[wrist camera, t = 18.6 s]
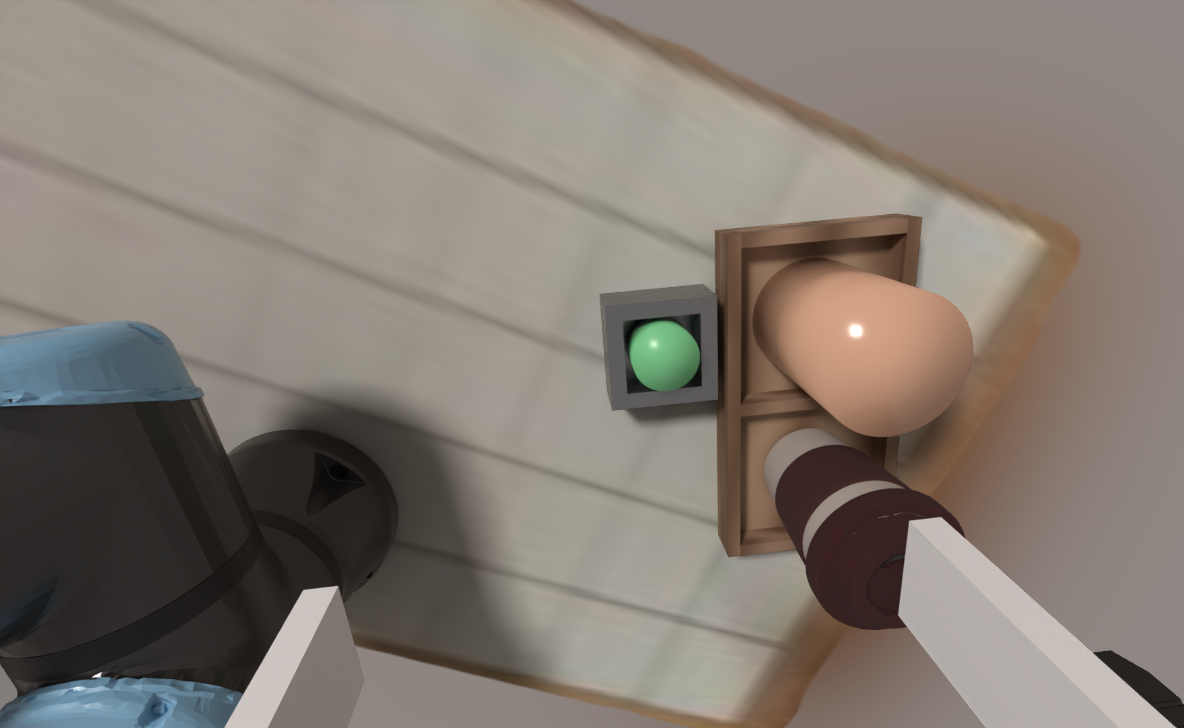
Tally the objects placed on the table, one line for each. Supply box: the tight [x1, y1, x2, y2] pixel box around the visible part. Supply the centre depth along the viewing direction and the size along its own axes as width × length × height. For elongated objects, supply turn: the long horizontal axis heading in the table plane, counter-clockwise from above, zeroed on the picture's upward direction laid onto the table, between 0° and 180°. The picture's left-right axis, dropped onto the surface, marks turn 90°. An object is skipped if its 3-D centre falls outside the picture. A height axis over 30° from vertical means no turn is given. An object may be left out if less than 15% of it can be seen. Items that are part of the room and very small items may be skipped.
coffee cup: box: [763, 428, 966, 630], centre depth 42 cm, size 10×10×15 cm
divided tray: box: [715, 214, 922, 557], centre depth 47 cm, size 14×27×3 cm, turn 5°
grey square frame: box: [600, 284, 718, 411], centre depth 44 cm, size 8×8×4 cm
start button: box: [627, 317, 700, 391], centre depth 42 cm, size 5×5×3 cm
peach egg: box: [752, 257, 973, 437], centre depth 39 cm, size 9×9×12 cm
